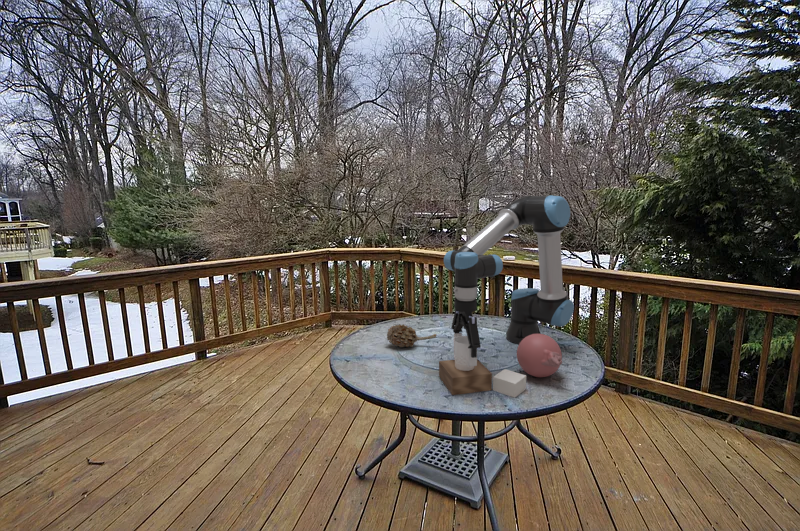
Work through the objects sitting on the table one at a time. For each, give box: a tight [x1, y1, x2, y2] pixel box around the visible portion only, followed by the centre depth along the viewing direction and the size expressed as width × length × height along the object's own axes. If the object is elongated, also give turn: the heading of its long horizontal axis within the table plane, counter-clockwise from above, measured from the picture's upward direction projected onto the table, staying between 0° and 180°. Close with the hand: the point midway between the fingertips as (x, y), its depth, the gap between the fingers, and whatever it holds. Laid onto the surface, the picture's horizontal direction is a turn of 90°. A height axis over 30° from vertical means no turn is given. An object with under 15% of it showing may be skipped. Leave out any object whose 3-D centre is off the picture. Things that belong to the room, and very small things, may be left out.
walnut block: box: [438, 358, 493, 396], centre depth 141 cm, size 14×14×6 cm
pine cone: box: [386, 324, 437, 348], centre depth 176 cm, size 22×10×10 cm, turn 92°
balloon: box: [516, 333, 563, 378], centre depth 144 cm, size 15×20×15 cm
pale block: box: [492, 368, 527, 398], centre depth 137 cm, size 8×8×5 cm
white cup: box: [453, 335, 474, 371], centre depth 140 cm, size 8×8×10 cm
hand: (464, 357), depth 140 cm, fingers open, 13 cm apart
